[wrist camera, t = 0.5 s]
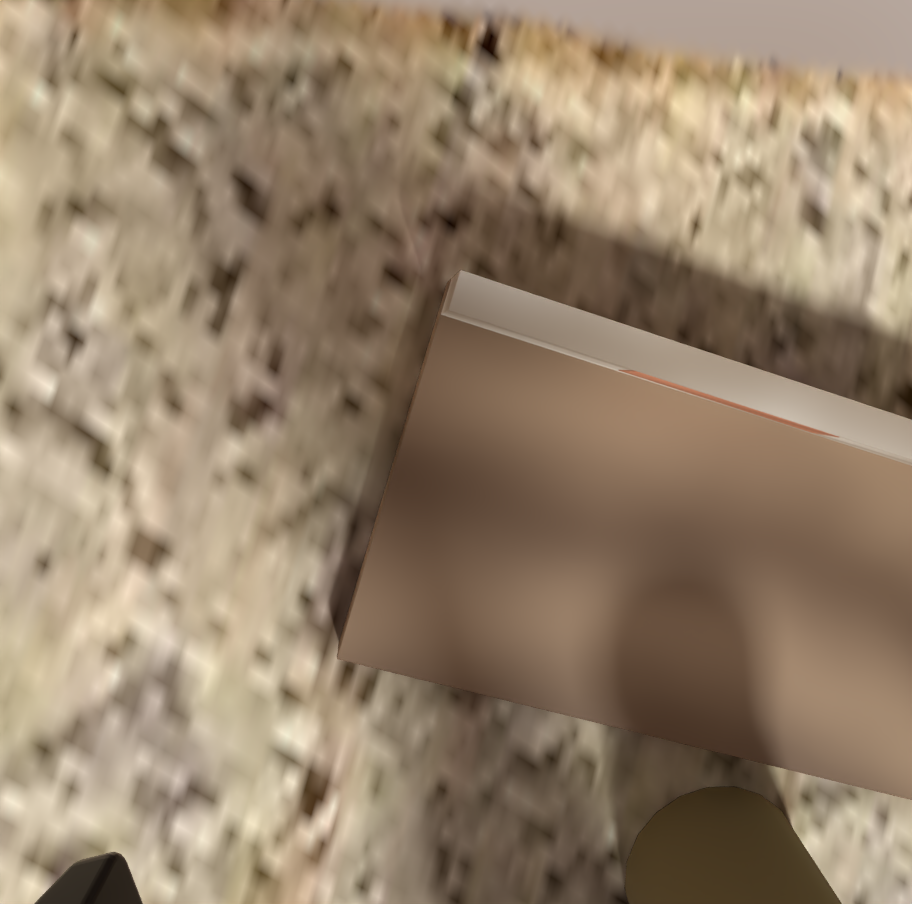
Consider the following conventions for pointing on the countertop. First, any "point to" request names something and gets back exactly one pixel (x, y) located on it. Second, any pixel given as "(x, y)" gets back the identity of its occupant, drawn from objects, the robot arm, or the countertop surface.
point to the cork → (722, 854)
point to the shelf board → (646, 541)
